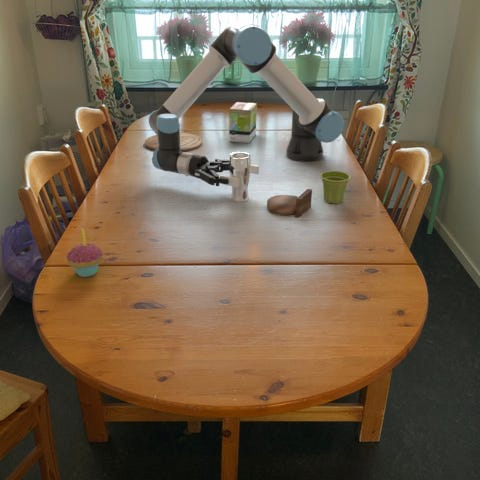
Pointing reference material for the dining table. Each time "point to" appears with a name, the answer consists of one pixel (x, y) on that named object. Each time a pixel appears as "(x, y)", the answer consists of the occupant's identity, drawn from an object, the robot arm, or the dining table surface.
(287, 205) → the walnut base
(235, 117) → the tea box
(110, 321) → the dining table surface
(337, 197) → the plant pot
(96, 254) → the cupcake
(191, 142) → the trivet
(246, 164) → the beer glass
